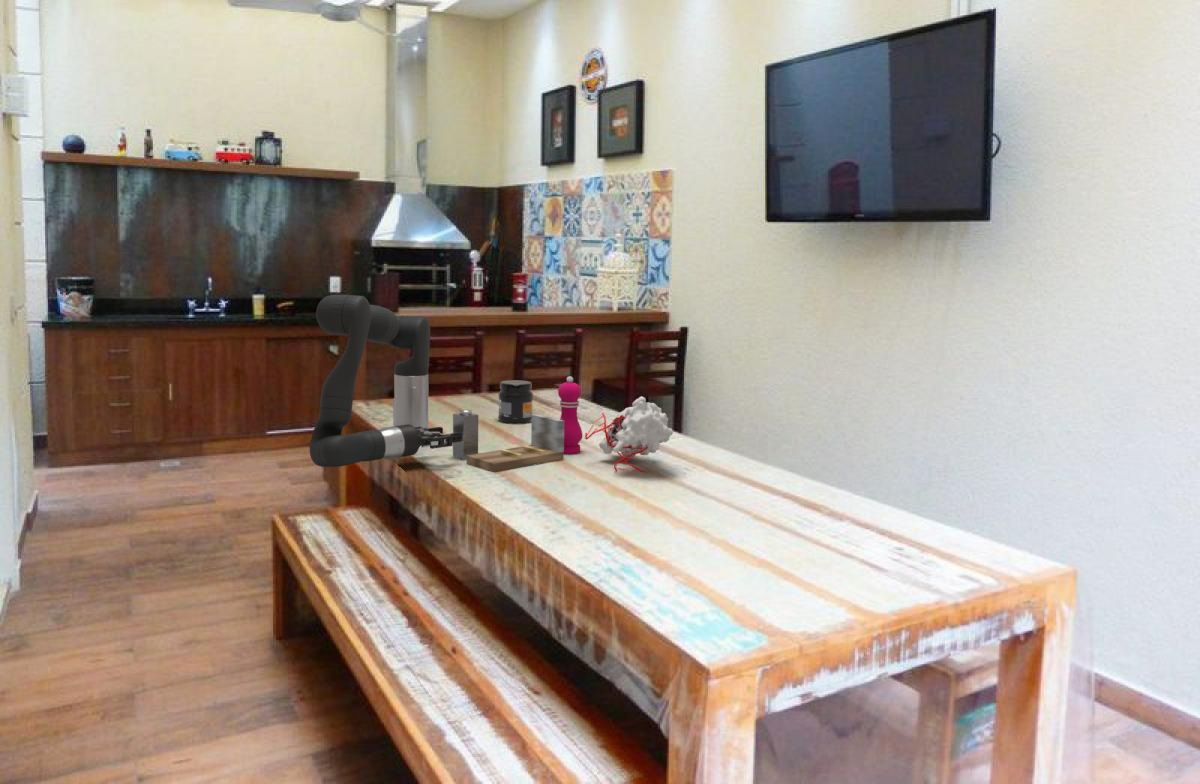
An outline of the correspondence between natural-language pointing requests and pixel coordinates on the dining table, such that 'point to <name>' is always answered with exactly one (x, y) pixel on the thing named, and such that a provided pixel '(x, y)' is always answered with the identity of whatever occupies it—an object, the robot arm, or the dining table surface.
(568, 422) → the pepper mill
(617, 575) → the dining table surface
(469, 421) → the metal square bar
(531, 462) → the wooden base metal fixture
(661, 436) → the lumpy white molecule
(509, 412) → the supplement container
